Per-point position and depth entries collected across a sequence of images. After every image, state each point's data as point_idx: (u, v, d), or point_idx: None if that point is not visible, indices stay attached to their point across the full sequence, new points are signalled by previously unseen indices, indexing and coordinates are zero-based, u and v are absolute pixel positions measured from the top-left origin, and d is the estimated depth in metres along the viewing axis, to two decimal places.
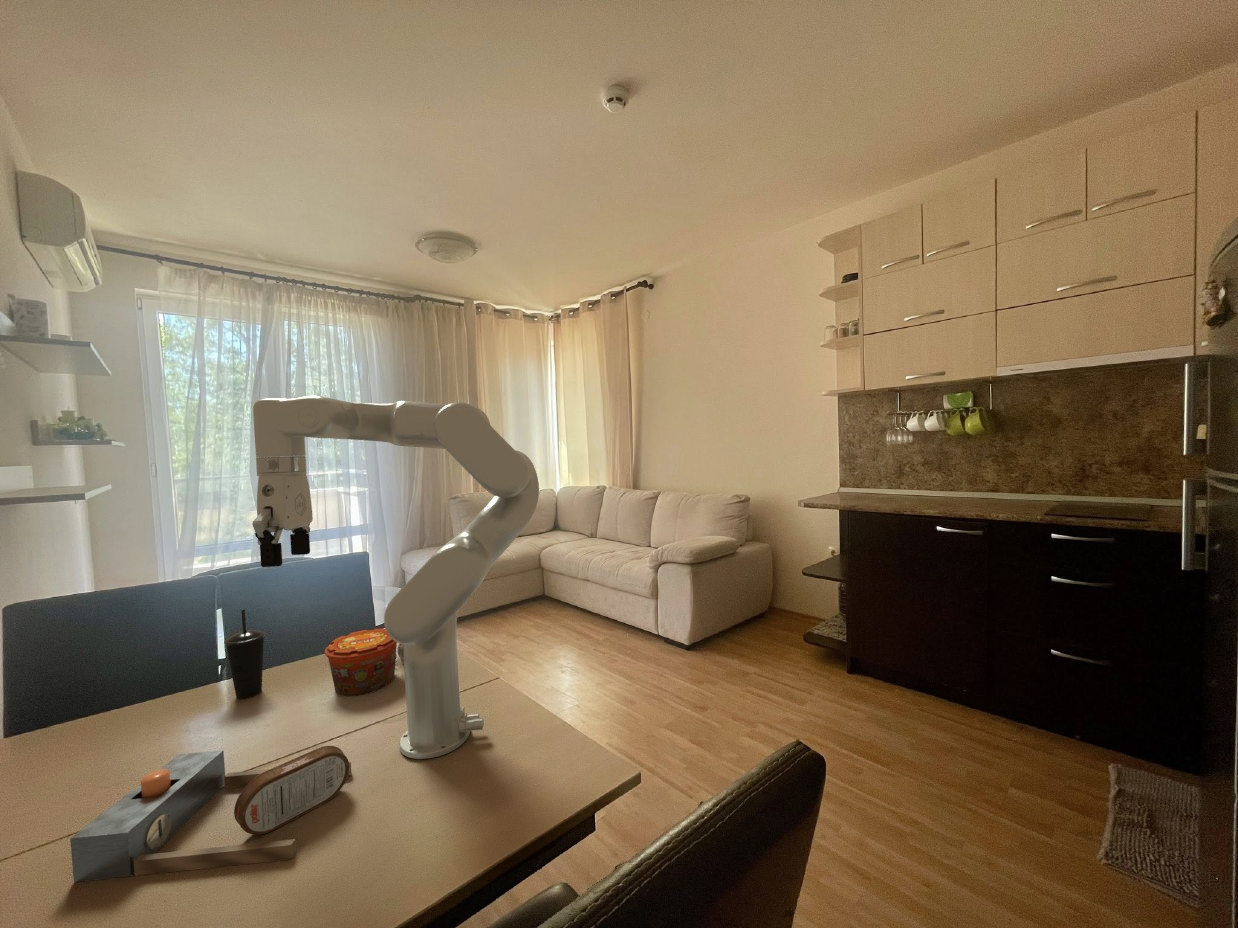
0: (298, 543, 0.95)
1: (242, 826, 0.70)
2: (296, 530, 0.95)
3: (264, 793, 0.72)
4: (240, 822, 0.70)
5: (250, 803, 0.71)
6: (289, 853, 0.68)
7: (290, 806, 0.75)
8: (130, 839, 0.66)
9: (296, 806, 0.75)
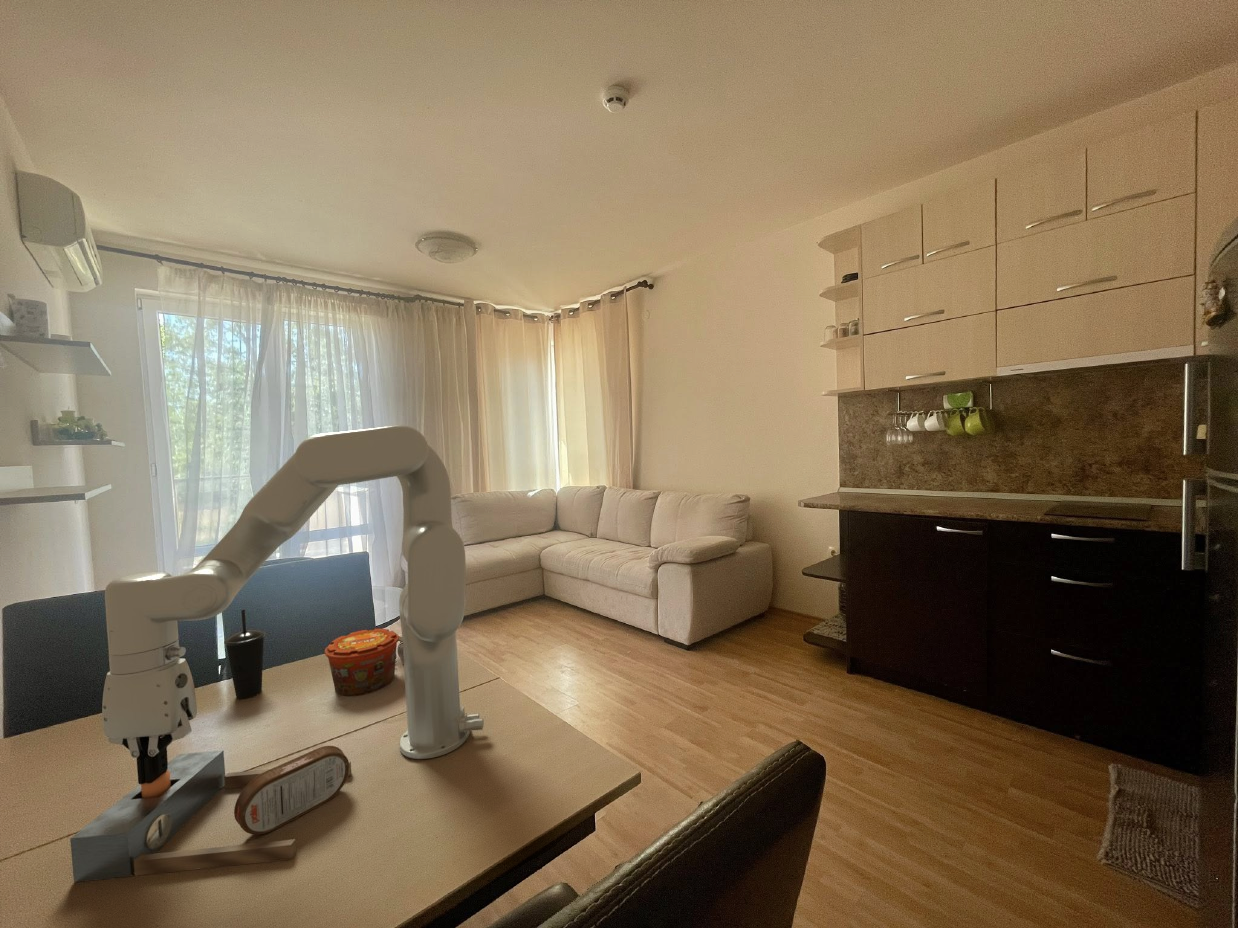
0: None
1: (242, 826, 0.70)
2: (142, 745, 0.74)
3: (264, 793, 0.72)
4: (240, 822, 0.70)
5: (250, 803, 0.71)
6: (289, 853, 0.68)
7: (290, 806, 0.75)
8: (130, 839, 0.66)
9: (296, 806, 0.75)
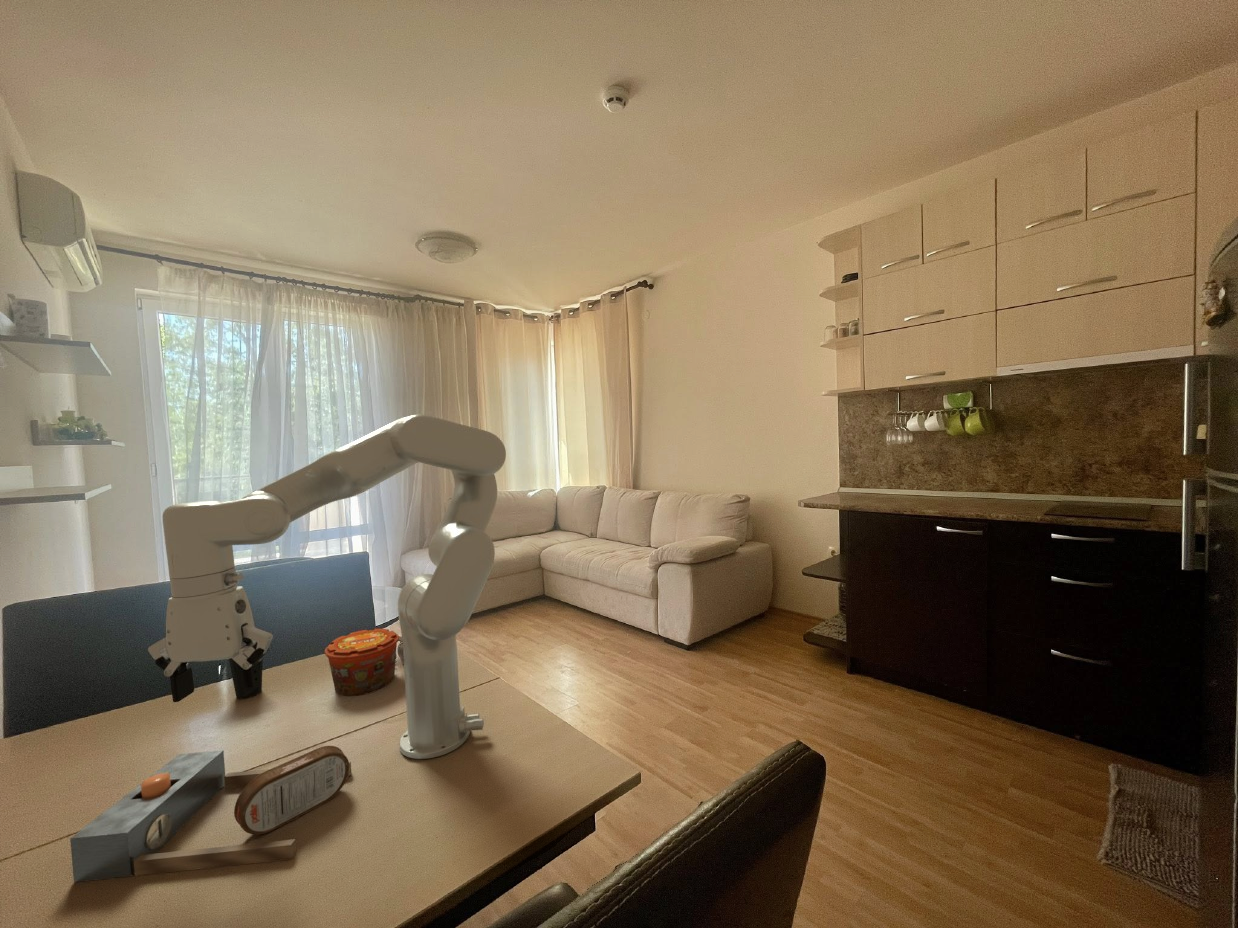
0: (184, 683, 0.75)
1: (242, 826, 0.70)
2: (177, 668, 0.74)
3: (264, 793, 0.72)
4: (240, 822, 0.70)
5: (250, 802, 0.71)
6: (289, 853, 0.68)
7: (290, 806, 0.75)
8: (130, 839, 0.66)
9: (296, 806, 0.75)
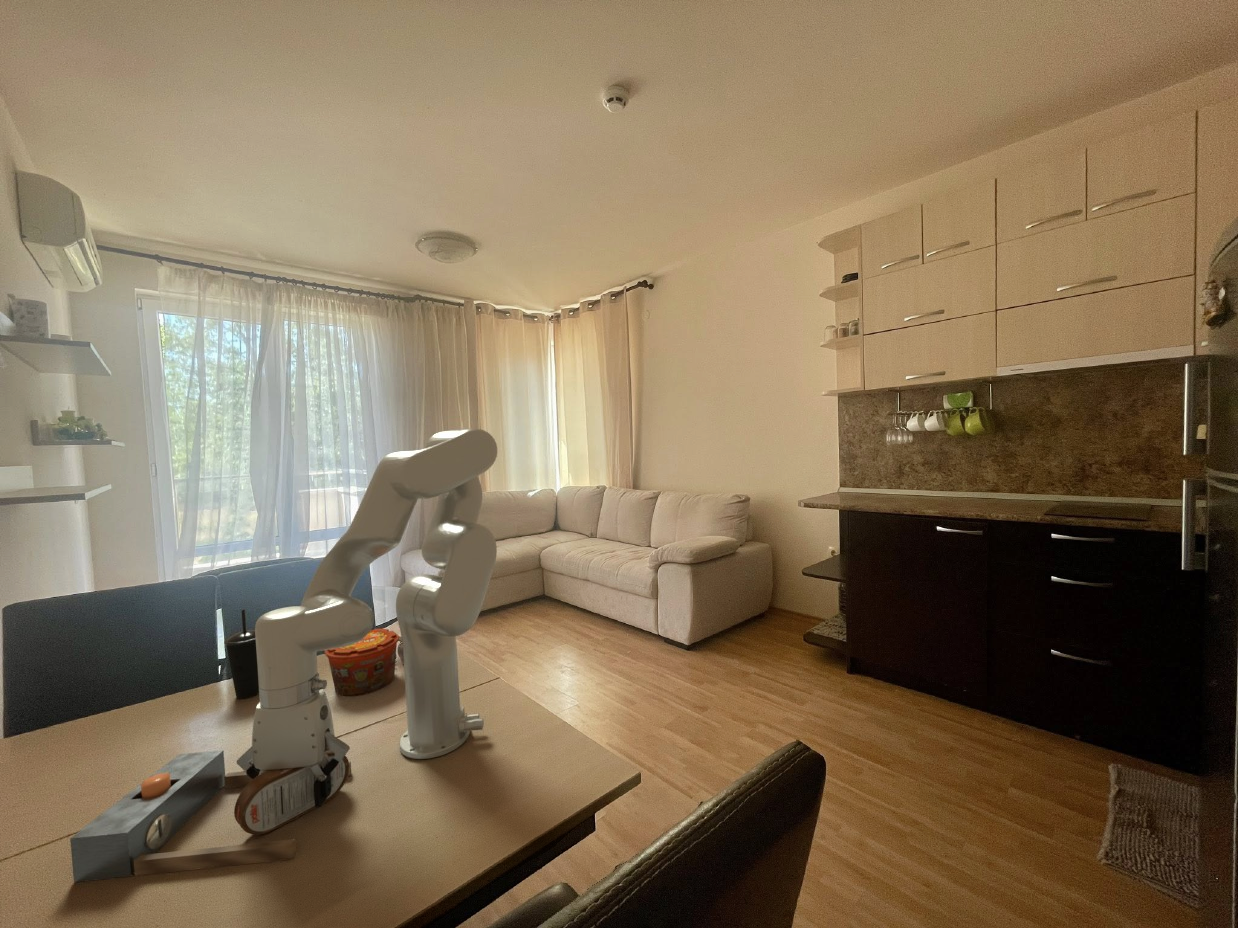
0: None
1: (242, 826, 0.70)
2: None
3: (264, 793, 0.72)
4: (240, 822, 0.70)
5: (250, 802, 0.71)
6: (289, 853, 0.68)
7: (290, 806, 0.75)
8: (130, 839, 0.66)
9: (296, 806, 0.75)
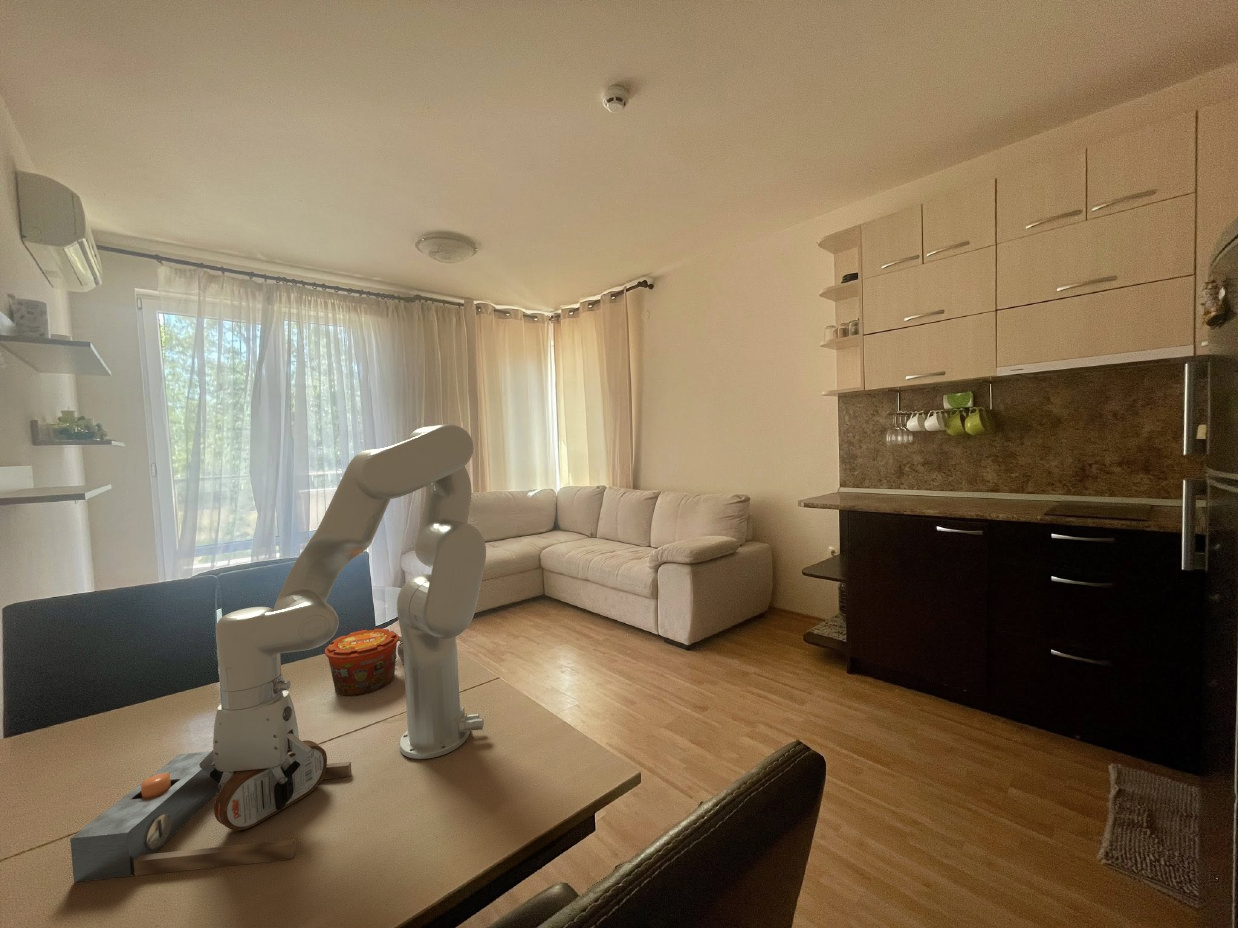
0: None
1: (224, 822, 0.71)
2: None
3: (245, 787, 0.73)
4: (222, 818, 0.71)
5: (231, 797, 0.71)
6: (289, 853, 0.68)
7: (271, 800, 0.76)
8: (130, 839, 0.66)
9: None
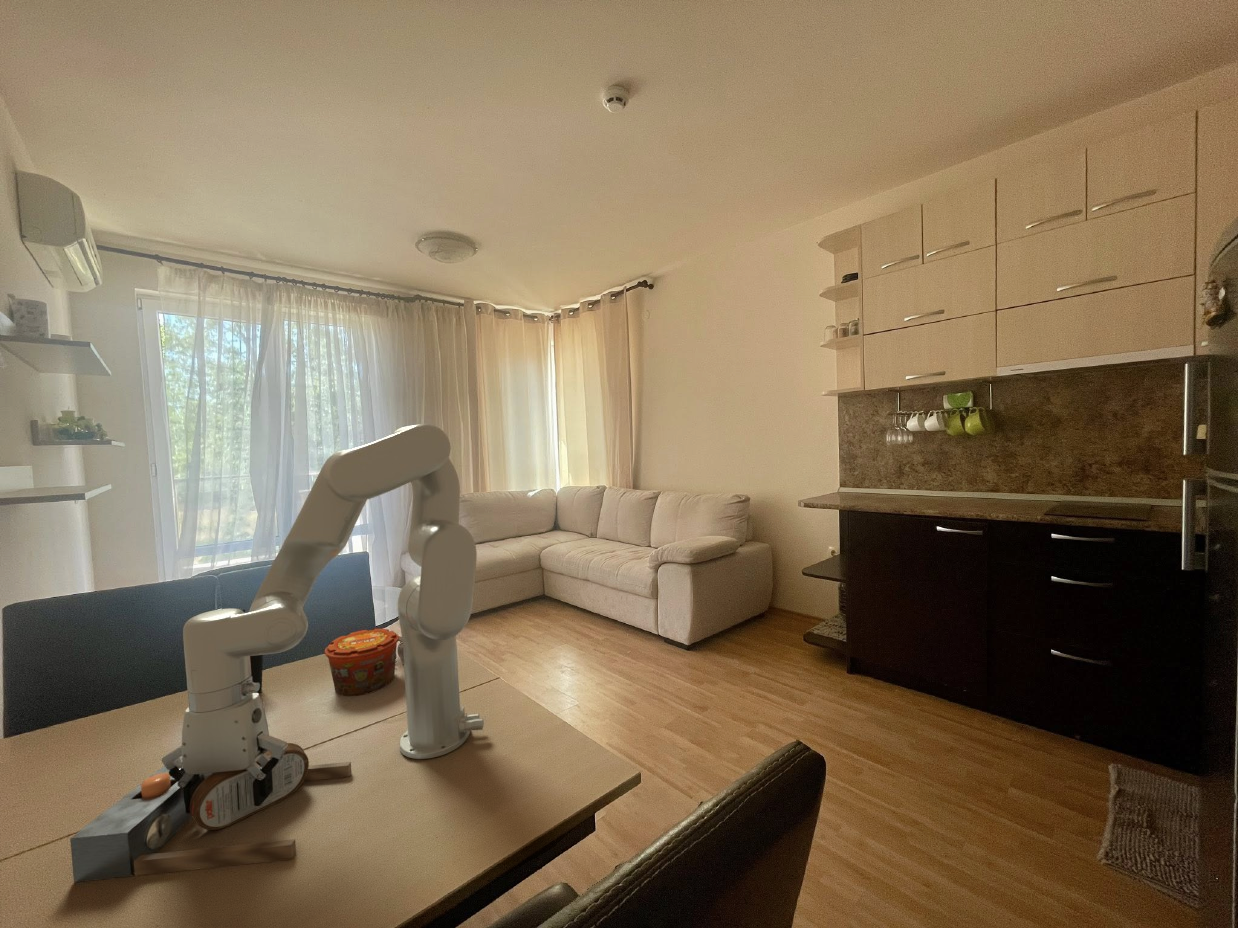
0: None
1: (196, 821, 0.71)
2: (191, 778, 0.74)
3: (219, 789, 0.73)
4: (195, 817, 0.71)
5: (204, 798, 0.72)
6: (289, 853, 0.68)
7: (247, 802, 0.76)
8: (130, 839, 0.66)
9: (253, 802, 0.77)
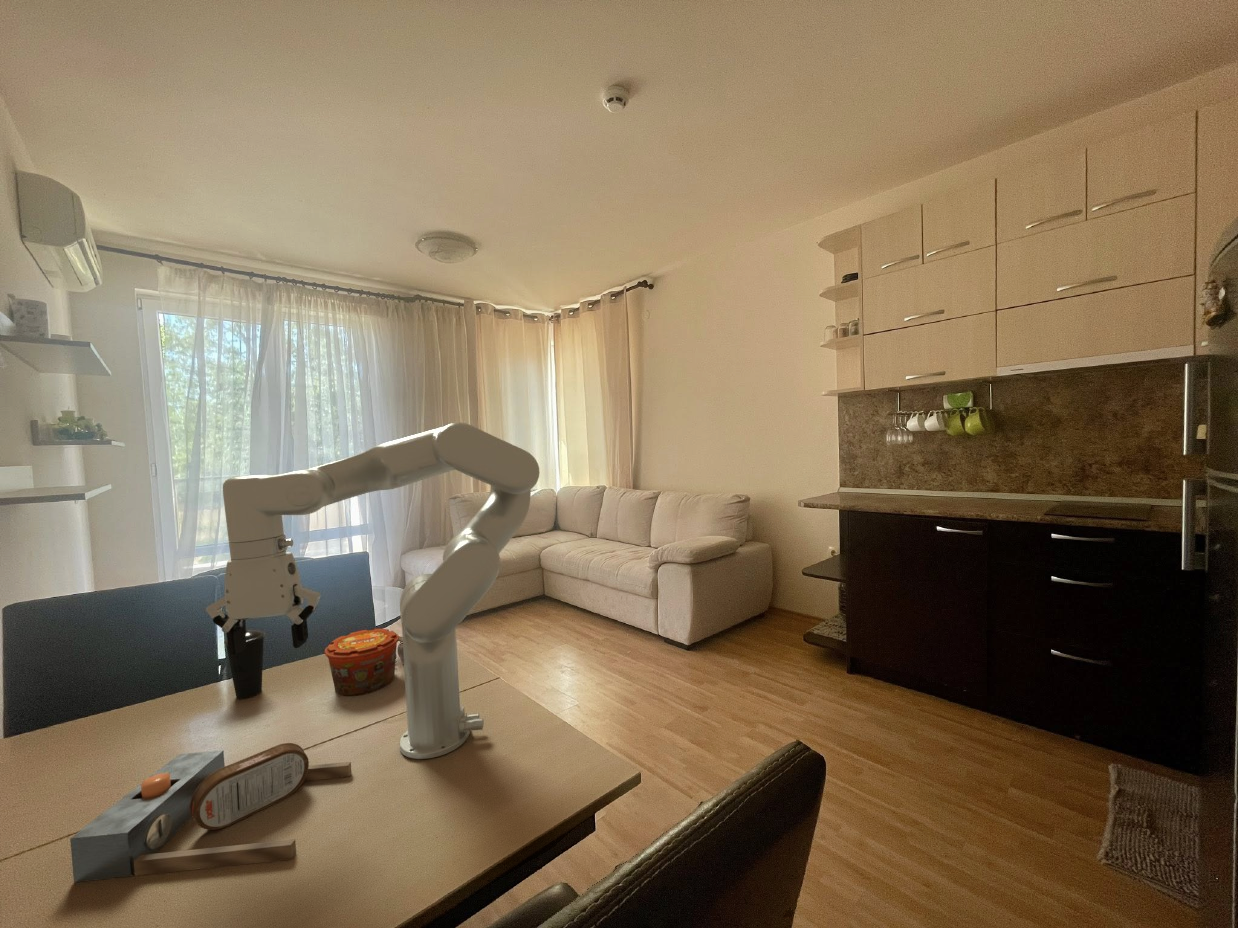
0: (239, 639, 0.83)
1: (196, 821, 0.71)
2: (233, 626, 0.82)
3: (219, 789, 0.73)
4: (195, 817, 0.71)
5: (204, 798, 0.72)
6: (289, 853, 0.68)
7: (247, 802, 0.76)
8: (130, 839, 0.66)
9: (253, 802, 0.77)
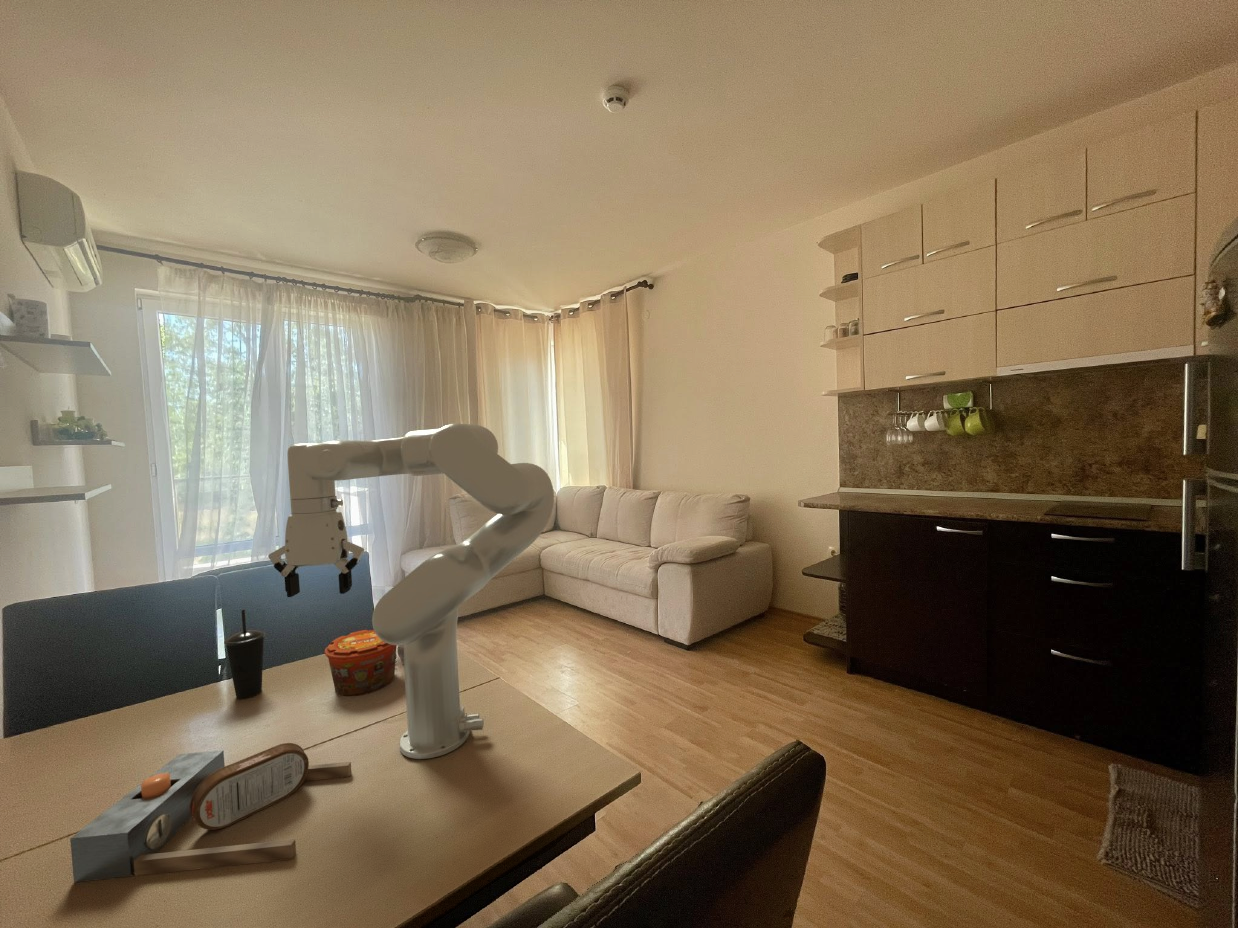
0: (294, 583, 0.96)
1: (196, 821, 0.71)
2: (290, 572, 0.96)
3: (219, 789, 0.73)
4: (195, 817, 0.71)
5: (204, 798, 0.72)
6: (289, 853, 0.68)
7: (247, 802, 0.76)
8: (130, 839, 0.66)
9: (253, 802, 0.77)
